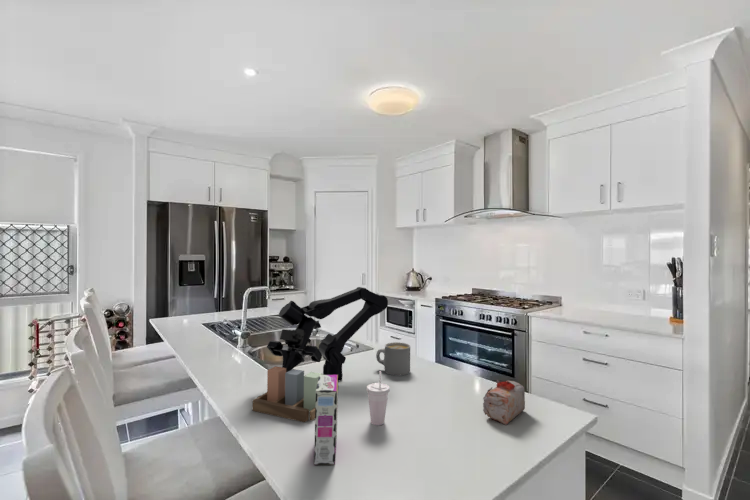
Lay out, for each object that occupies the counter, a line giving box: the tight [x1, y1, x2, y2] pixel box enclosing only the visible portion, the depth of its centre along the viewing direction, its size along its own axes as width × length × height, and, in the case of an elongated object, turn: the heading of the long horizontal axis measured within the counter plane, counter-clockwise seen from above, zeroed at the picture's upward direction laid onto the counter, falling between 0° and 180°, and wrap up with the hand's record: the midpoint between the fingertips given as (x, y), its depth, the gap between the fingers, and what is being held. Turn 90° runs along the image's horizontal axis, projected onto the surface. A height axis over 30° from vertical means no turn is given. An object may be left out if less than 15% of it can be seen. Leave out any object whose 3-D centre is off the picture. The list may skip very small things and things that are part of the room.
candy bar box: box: [313, 375, 339, 466], centre depth 85 cm, size 11×5×16 cm, turn 5°
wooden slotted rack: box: [252, 391, 315, 423], centre depth 107 cm, size 10×20×3 cm, turn 68°
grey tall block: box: [285, 368, 305, 406], centre depth 109 cm, size 4×4×10 cm
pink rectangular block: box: [266, 366, 286, 402], centre depth 112 cm, size 4×4×10 cm
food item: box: [482, 379, 526, 426], centre depth 105 cm, size 14×8×10 cm, turn 137°
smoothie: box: [366, 370, 390, 426], centre depth 99 cm, size 6×6×14 cm
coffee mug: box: [375, 341, 411, 377], centre depth 142 cm, size 13×10×10 cm
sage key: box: [304, 371, 323, 412], centre depth 107 cm, size 4×4×10 cm
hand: (283, 374), depth 115 cm, fingers closed
